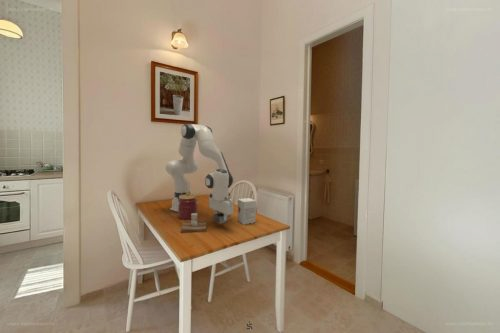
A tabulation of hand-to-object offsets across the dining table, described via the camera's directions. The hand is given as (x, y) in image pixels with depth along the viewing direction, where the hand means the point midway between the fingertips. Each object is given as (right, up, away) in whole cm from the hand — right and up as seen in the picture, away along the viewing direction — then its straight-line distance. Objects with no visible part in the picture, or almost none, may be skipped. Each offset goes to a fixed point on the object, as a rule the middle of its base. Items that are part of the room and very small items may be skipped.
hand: (220, 218), depth 133 cm
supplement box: (+16, -5, +11) cm, 20 cm away
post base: (-16, -5, -2) cm, 16 cm away
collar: (0, -2, 0) cm, 2 cm away
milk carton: (0, -4, +18) cm, 19 cm away
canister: (-26, -4, +20) cm, 32 cm away
